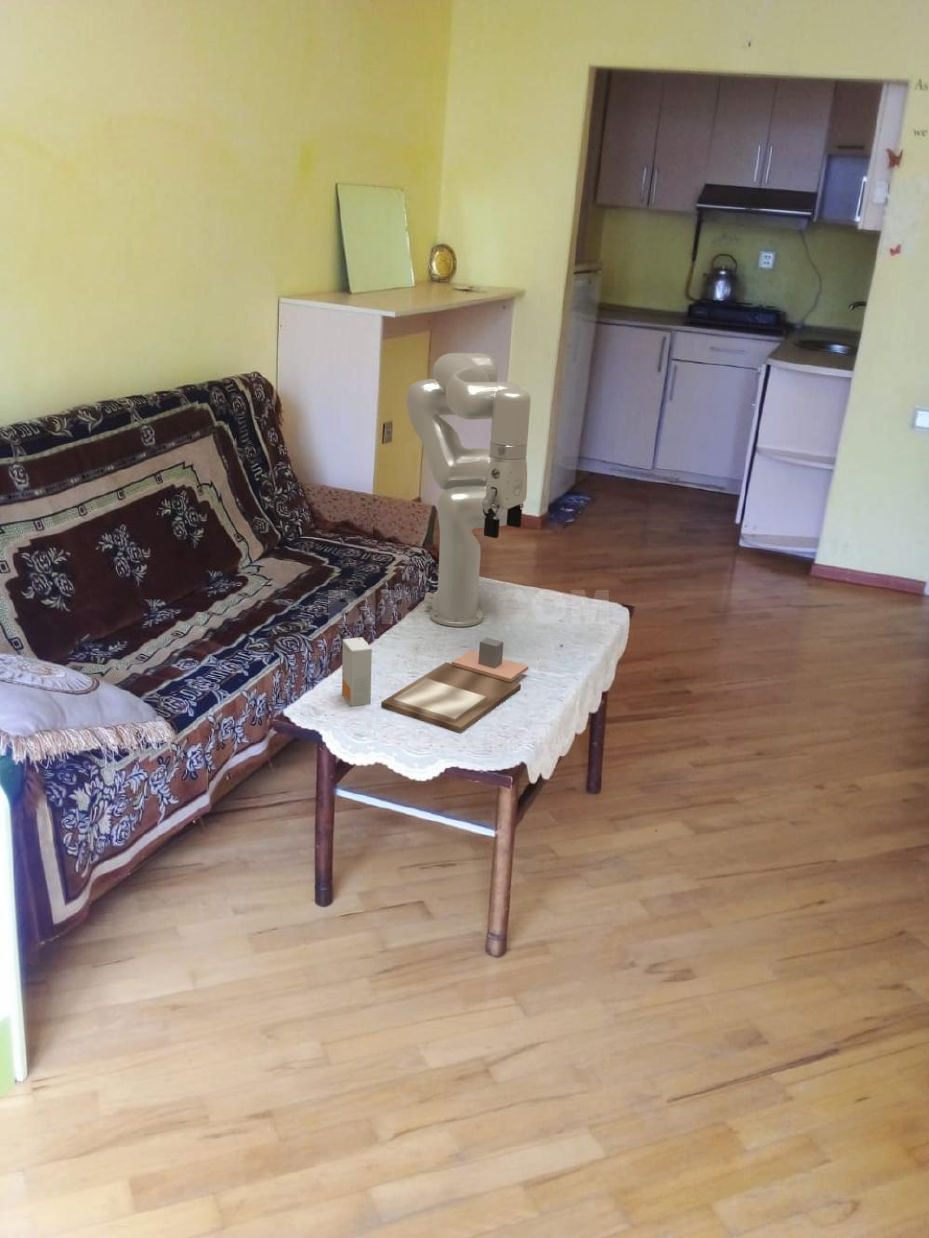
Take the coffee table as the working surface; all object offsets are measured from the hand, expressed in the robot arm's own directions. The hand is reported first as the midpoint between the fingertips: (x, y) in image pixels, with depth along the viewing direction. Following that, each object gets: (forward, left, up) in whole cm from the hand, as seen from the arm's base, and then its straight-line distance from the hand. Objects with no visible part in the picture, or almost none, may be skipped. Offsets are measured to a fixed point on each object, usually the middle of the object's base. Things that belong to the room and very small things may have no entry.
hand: (502, 531), depth 231 cm
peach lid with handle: (+4, -9, -27) cm, 29 cm away
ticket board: (+4, -24, -28) cm, 37 cm away
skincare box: (-11, -36, -28) cm, 47 cm away
